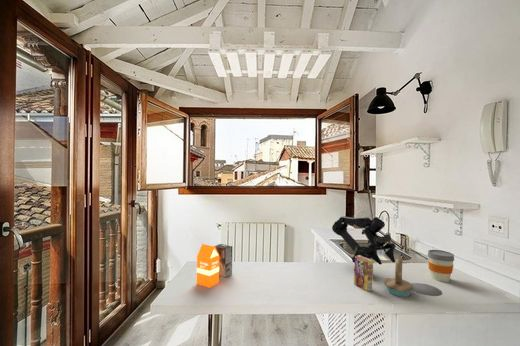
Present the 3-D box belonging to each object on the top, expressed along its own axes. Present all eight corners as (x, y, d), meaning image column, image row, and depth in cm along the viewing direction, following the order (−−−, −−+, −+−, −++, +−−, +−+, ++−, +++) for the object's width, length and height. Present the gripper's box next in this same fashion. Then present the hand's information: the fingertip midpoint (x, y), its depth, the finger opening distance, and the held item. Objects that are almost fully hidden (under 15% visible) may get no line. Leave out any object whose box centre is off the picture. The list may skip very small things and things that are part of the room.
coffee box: (232, 274, 155) (233, 246, 154) (225, 277, 149) (225, 248, 149) (220, 270, 160) (221, 243, 159) (213, 273, 154) (213, 246, 154)
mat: (416, 295, 132) (416, 294, 132) (403, 282, 147) (403, 282, 147) (448, 297, 131) (448, 296, 131) (432, 284, 146) (432, 283, 146)
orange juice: (206, 278, 148) (207, 242, 147) (219, 282, 143) (219, 244, 143) (196, 283, 141) (196, 245, 141) (209, 287, 136) (210, 248, 136)
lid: (382, 286, 134) (382, 260, 134) (386, 278, 145) (386, 253, 144) (412, 293, 127) (412, 266, 126) (414, 284, 138) (414, 258, 137)
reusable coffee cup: (440, 274, 161) (441, 249, 161) (459, 283, 148) (460, 256, 148) (421, 275, 159) (422, 249, 158) (439, 284, 146) (440, 256, 146)
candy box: (372, 289, 138) (373, 260, 138) (366, 291, 136) (367, 261, 136) (359, 282, 146) (360, 254, 146) (353, 284, 144) (354, 255, 144)
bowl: (391, 296, 131) (391, 289, 131) (384, 287, 141) (384, 280, 141) (413, 297, 130) (413, 290, 130) (404, 288, 140) (404, 281, 140)
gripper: (367, 230, 143) (383, 257, 133) (393, 228, 150) (410, 254, 140) (356, 241, 151) (370, 268, 141) (382, 238, 157) (397, 264, 147)
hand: (387, 263), depth 142 cm, fingers open, 9 cm apart
